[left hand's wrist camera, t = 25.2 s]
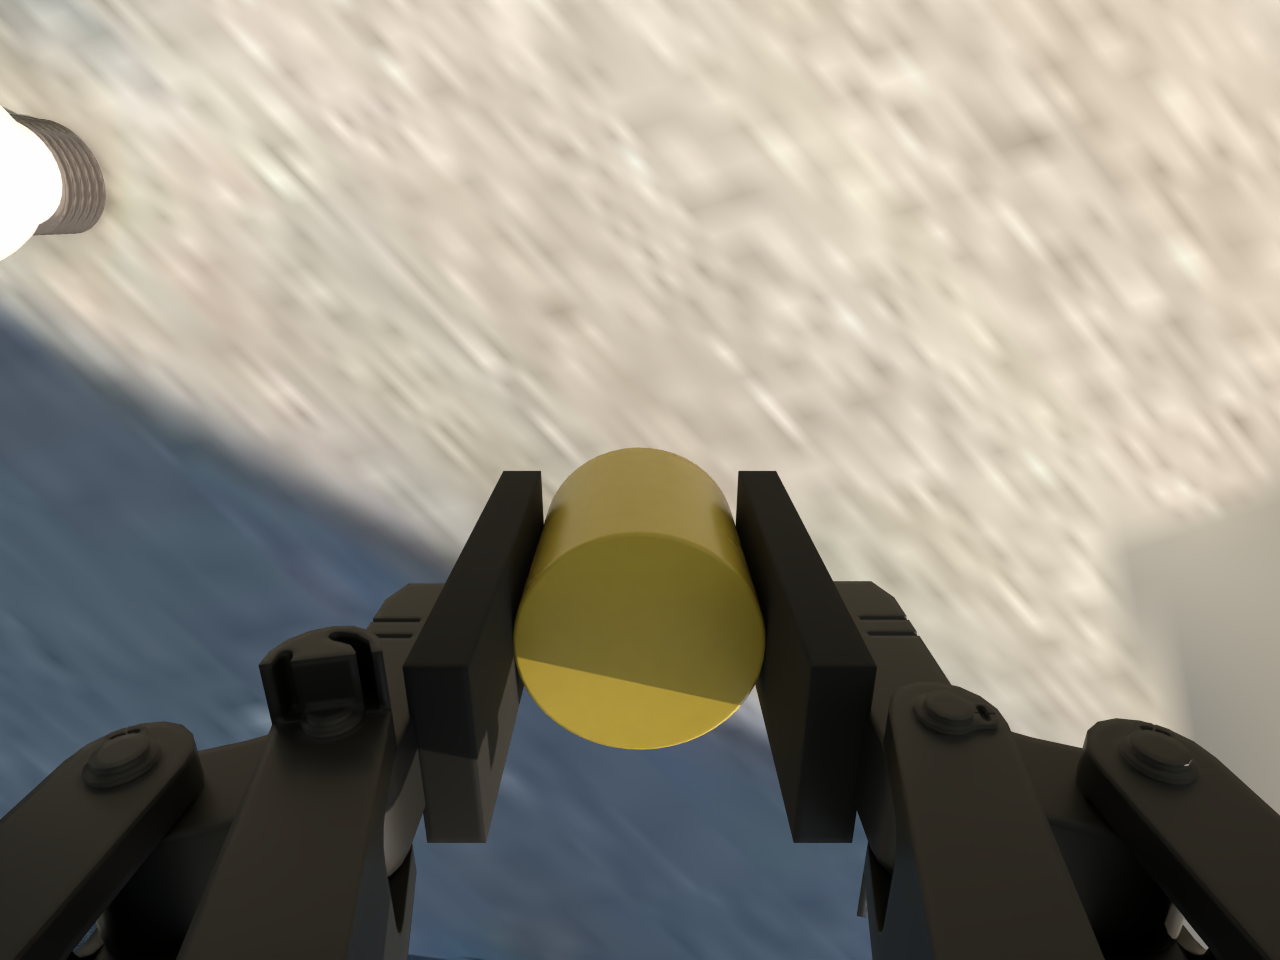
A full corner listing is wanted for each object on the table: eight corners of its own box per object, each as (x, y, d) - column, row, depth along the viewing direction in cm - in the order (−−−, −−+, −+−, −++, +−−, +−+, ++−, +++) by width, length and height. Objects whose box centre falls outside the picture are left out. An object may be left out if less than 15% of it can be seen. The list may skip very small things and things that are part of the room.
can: (719, 626, 16) (745, 761, 12) (540, 609, 16) (506, 740, 12) (747, 456, 14) (787, 546, 10) (550, 436, 14) (517, 521, 10)
